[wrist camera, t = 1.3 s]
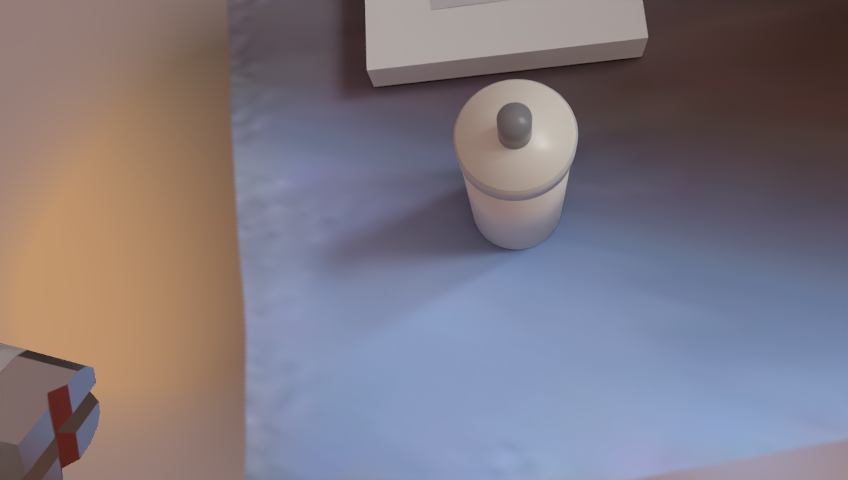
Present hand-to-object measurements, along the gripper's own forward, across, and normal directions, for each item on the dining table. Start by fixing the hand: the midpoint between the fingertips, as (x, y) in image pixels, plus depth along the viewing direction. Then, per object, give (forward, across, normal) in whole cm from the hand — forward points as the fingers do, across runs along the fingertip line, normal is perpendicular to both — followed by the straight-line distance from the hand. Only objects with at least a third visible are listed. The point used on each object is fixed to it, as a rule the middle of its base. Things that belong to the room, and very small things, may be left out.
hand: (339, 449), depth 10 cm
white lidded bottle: (+26, -5, +9) cm, 28 cm away
